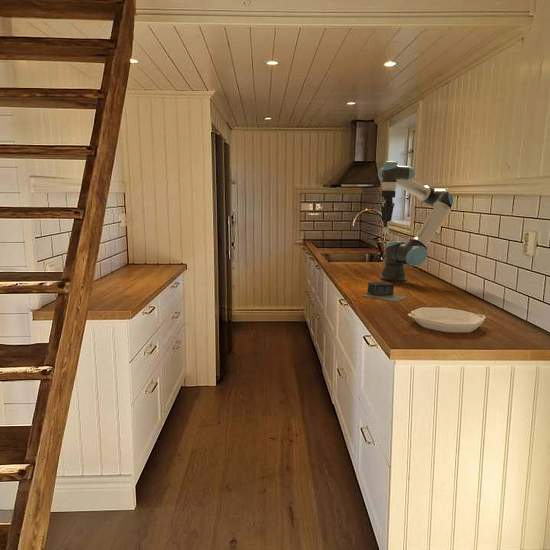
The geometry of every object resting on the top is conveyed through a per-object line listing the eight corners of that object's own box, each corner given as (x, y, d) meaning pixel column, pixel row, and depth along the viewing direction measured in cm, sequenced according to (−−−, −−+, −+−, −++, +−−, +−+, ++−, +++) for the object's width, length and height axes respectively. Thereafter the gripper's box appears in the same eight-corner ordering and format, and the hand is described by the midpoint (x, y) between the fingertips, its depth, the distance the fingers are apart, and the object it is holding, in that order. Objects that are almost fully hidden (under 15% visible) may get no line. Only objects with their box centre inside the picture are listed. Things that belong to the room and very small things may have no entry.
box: (385, 292, 250) (367, 292, 247) (386, 281, 249) (368, 281, 246) (393, 295, 242) (374, 295, 239) (394, 284, 242) (375, 284, 239)
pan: (418, 334, 175) (419, 323, 175) (396, 316, 200) (397, 306, 200) (500, 335, 178) (502, 324, 177) (468, 318, 203) (469, 307, 202)
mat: (374, 292, 250) (374, 291, 250) (407, 297, 239) (407, 297, 239) (362, 296, 239) (362, 295, 239) (396, 302, 228) (396, 301, 228)
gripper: (387, 190, 271) (384, 232, 275) (377, 189, 261) (374, 233, 265) (399, 190, 267) (396, 233, 270) (389, 189, 256) (386, 234, 260)
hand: (385, 233), depth 268 cm, fingers closed
